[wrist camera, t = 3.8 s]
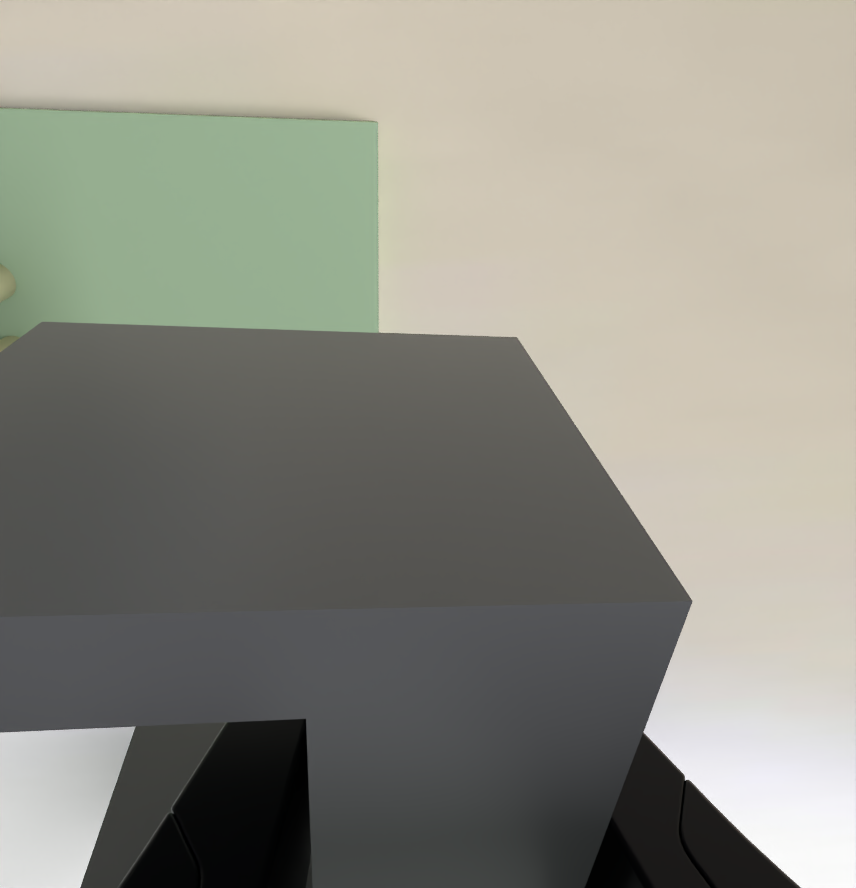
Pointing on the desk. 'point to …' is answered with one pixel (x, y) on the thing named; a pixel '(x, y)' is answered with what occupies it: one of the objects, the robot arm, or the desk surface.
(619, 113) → the desk surface
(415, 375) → the grey c-shaped bracket
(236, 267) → the board
